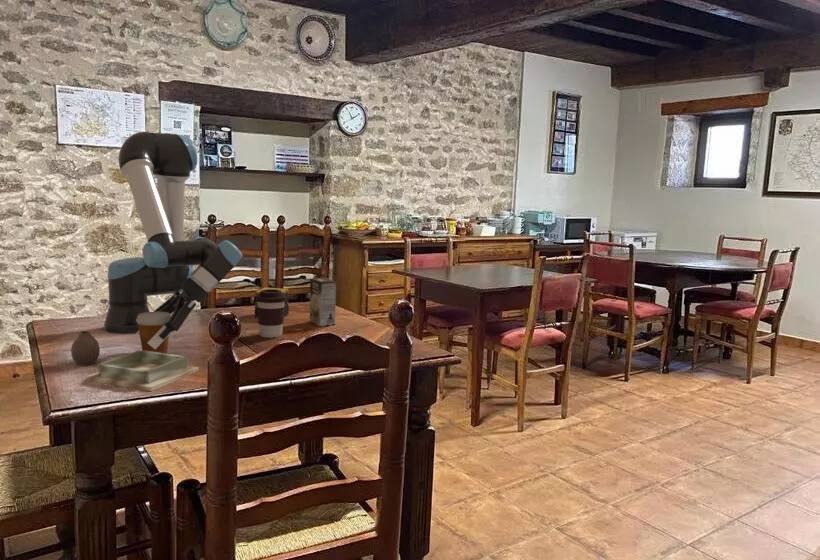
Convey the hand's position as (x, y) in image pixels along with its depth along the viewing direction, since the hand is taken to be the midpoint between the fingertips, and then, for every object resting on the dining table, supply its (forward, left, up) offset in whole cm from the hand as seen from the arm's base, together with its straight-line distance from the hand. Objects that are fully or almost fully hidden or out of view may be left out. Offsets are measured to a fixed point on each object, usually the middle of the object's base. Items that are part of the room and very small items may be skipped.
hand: (145, 340), depth 180 cm
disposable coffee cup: (+1, +2, -5) cm, 5 cm away
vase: (-10, -12, -5) cm, 16 cm away
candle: (+3, +63, -5) cm, 63 cm away
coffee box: (+25, +61, -5) cm, 66 cm away
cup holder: (+11, -14, -5) cm, 19 cm away
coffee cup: (+18, +37, -5) cm, 42 cm away
